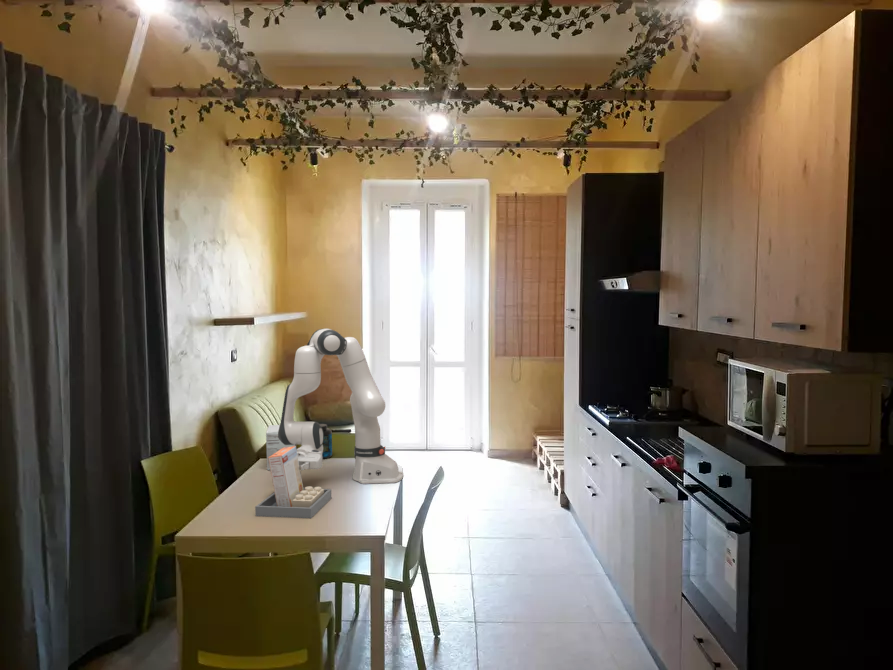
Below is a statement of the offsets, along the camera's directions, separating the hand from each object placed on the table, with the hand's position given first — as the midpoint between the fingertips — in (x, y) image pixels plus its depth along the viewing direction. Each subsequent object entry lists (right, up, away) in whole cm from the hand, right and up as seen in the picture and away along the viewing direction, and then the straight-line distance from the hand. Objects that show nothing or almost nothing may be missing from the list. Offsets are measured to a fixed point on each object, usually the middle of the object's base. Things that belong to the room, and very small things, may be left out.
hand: (288, 467), depth 230 cm
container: (-3, -10, +69) cm, 70 cm away
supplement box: (-18, -11, +56) cm, 60 cm away
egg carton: (+9, -13, -7) cm, 18 cm away
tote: (+4, -14, -6) cm, 16 cm away
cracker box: (+2, -13, -5) cm, 14 cm away
